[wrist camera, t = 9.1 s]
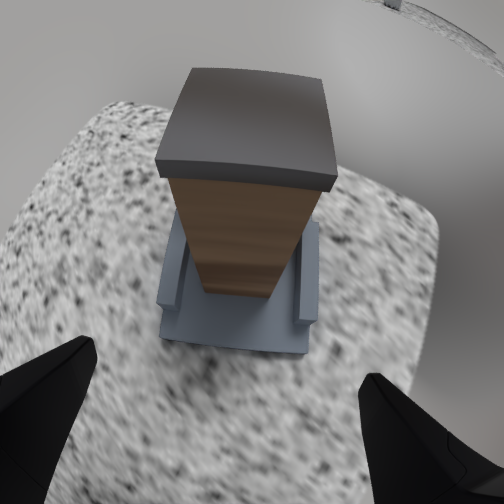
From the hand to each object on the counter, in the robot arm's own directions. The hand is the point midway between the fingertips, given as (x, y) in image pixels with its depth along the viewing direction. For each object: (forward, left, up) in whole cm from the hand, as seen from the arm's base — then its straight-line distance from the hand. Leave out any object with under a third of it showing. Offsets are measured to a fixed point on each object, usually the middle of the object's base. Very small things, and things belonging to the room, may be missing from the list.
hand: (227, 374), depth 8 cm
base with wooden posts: (+6, +4, -11) cm, 14 cm away
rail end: (+6, +4, -10) cm, 13 cm away
